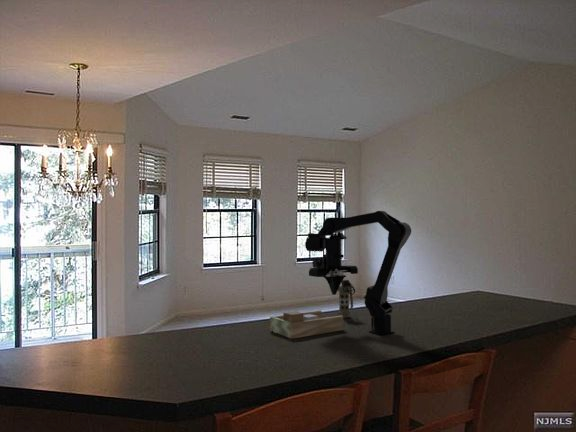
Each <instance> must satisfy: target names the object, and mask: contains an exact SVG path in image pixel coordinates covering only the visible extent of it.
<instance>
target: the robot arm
mask: <svg viewBox="0 0 576 432" xmlns="http://www.w3.org/2000/svg"><path fill="white" fill-rule="evenodd" d="M377 223H378V224H379V225H380V226H381V227H382V228H384V230H386V231H387V232H388V234H387V249H386V252H385V254H384V257H383V260H382V263H381V266H380V268H379V272H378V274H377V277H376V280H375V283H374V284H373V285H371V286H368V287H367V288H366V293H365V295H364V297H363V299H364V305H365V307H366V309H367V310H368V312H369V314H370V317H371V320H370V321H371V322H370V323H371V324H370V325H371V329H369V330H368V333H372V334H376V335H380V336H382V335H383V336H384V335H389V334H394V333H395V330H392V315H391V314H392V312H393V310H394V307H393V305H391V304H390V303H389V302H388V294H389V292H388V291H389V289H388V288H389V287H388V286H389V284H390V281H391V278H392V275H393V272H394V269H395V267H396V264H397V261H398V259H399V256H400V253H401V250H402V249H403V247H404V246H405V244H406V243H407V242H408V240H409V239H410V236H411V235H412V228H411V226H410V225H409V223H408V222H407V223H406V222H402V221H400V220H399V219H397V218H396V217H394V216H392V215H391V214H389V213H387V212H386V211H385V210H376V211H373V212H370V213H364V214H363V213H362V214H356V215H354V216H349V217H326V218H324V221H323V223H322V226H321V228H320V230H318V233H314V232H310V233H309V232H307V237H306V239H305V242H304V243H305V244H304V247H305V250H306V251H307V252H324V251H325V254H324V253H323V255H322V259H320V258H319V257H317V258H312V262H311V263H312V267H310V268H309V270H308V277H315V278H324V279H325V280H326V282H327V284H328V286H329V289H330V292H331V295H333V296H335V295H337V294H338V293H337V292H339V291H338V289H339V286H341V285H342V283H341V282H342V281H343V280H345V278H346V277H347V275H345V274H344V273H350V274H352V275H356V274H357V275H358V274H359V268H358V266H357V265H352V264H351V265H350V264H345V265H342V258H344V257H345V256H344V254H342V240H347V236H345V235H344V234H343V232H344V231H346V230H349V229H350V228H355V227H361V226H365V225H371V224H377ZM327 236H329V237H327Z"/></svg>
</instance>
